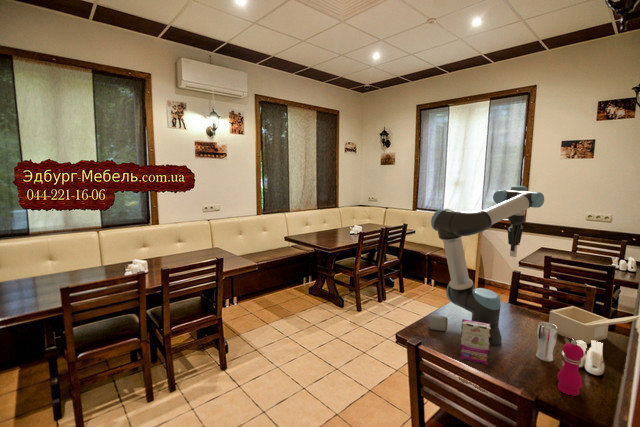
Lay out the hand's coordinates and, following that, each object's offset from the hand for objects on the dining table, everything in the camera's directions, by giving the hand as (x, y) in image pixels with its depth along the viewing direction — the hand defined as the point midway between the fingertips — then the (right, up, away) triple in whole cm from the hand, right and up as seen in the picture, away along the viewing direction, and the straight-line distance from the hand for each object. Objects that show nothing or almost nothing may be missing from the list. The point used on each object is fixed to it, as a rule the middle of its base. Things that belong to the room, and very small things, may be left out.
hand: (513, 256), depth 172 cm
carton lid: (+28, -25, -31) cm, 48 cm away
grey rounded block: (-46, -36, -10) cm, 59 cm away
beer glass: (-9, -40, -36) cm, 54 cm away
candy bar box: (-40, -40, -37) cm, 68 cm away
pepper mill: (-15, -42, -57) cm, 72 cm away
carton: (+22, -37, -16) cm, 46 cm away
